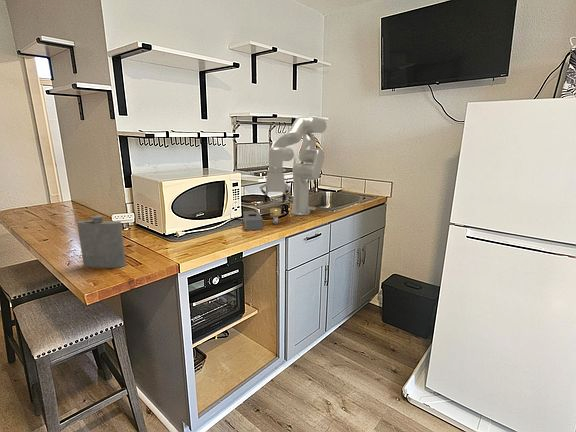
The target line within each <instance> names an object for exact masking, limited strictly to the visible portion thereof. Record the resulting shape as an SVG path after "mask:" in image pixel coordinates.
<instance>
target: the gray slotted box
mask: <svg viewBox="0 0 576 432" xmlns="http://www.w3.org/2000/svg"><path fill="white" fill-rule="evenodd" d="M254 211H255V210H243V212H242V218H243V219H242V221H243V225H244V228H245V231H261V230H264V219H263V216H262V215H261V213H260V211H259V212H254Z"/></svg>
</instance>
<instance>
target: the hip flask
mask: <svg viewBox="0 0 576 432" xmlns="http://www.w3.org/2000/svg"><path fill="white" fill-rule="evenodd" d="M103 219H104V216H103V215H101V214H96V215H93V216H91V219H90V220H89V219H88V220H79V221H76V223H77V229H78V236H79V243H80V249H81V256H82V262H83V267H85V268H97V269H98V268H99V269H113V268H114V269H115V268H116V269H117V268H124V267H126V265H127V263H126V262H127V261H126V253H125V245H124V238H123V229H122V228H123V227H122V222H121V221H120V220H115V221H111V220H110V221H108V220H107V221H106V220H105V221H104V220H103Z"/></svg>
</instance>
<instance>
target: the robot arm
mask: <svg viewBox="0 0 576 432" xmlns="http://www.w3.org/2000/svg"><path fill="white" fill-rule="evenodd" d="M327 128H328V126H327V122H326V120H325V119H324V118H322V117H317V116H298V117H297V118H295V120H294V121H293V123H292V125H291V127H290V128H289V130H288V131H287V132H286V133H284V134H283V135H281V136H280V137H277V138H276V139H275V140H274V142H273V143H272V145H271V146H270V148H269V150H268V172H267V173H266V180H265V183H264V184H263V185H260V186H259V189H260V191H261V193H262V194H263V195H264V199H263V200H264V201H265V203H268V194H269V192H270V193H271V192H272V193H276V192H278V193H279V192H280V193H282V202H283V203H285V201H286V200H287V198H286V197H287V194H288V193H289V192H290V190H291V188H292V187H291V186H290V185H288V184H286V181H285V174H284V172H286V168H284V167H283V164H284V163H283V162H290V161H293V159H294V157H295V152H294V150H293V149H292V148H291V147H288V146H293V145H295V144H298V143H300V141H301V140H302V143H301V146H300V150H299V154H298V160H299V162H300V163H296V164H294V165H293V166H292V169H291V171H292V173H291V174H292V179H293V198H292V199H293V201H292V209H291V210H290V214H292V215H295V216H307V215H310V214H311V212H312V211H316V207H315V206H309V193H310V192H309V190H310V189H309V187H310V186H309V182H308V181H307V180H310V181H316V180H318V179H319V178H320V175H321V172H322V168H323V163H324V160H325V152H324V150H323V148H319V147H316V144H317V140H316V138H315V136H314V135H313V134H323V133H325V131H326V130H327ZM301 162H302V163H301ZM263 188H265V190H264V189H263ZM285 188H286V190H285Z"/></svg>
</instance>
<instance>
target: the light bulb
mask: <svg viewBox="0 0 576 432" xmlns="http://www.w3.org/2000/svg"><path fill="white" fill-rule="evenodd" d="M269 212H270V213H269V215H270V217H272V224H273V225H279V217H281V216H282V209H281V208H279V207H273V208H270V210H269Z"/></svg>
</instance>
